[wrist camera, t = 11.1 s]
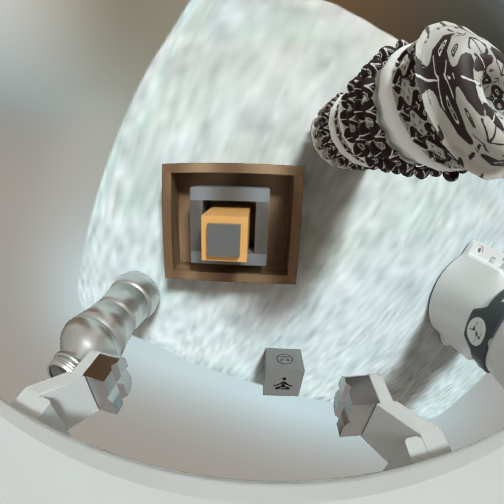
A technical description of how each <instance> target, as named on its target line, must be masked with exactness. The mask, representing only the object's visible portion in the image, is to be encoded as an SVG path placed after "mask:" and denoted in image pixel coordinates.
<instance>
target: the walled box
mask: <svg viewBox="0 0 504 504" xmlns="http://www.w3.org/2000/svg"><path fill="white" fill-rule="evenodd" d="M303 181H304V167H302V166H287V165H270V164H244V163H175V164H162V218H163V244H164V262H165V277H166V278H173V279H189V280H207V281H226V282H247V283H272V284H296V274H297V264H298V252H299V240H300V227H301V214H302V198H303ZM216 203H230V204H251V217H250V239H249V247H248V255H247V262H230V261H209V260H202V248H201V215H203V214H204V213H205V212H206V211H208V210H209V209H210V208H211V207H212V206H214V205H215V204H216Z"/></svg>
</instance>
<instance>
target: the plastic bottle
mask: <svg viewBox="0 0 504 504" xmlns="http://www.w3.org/2000/svg"><path fill="white" fill-rule="evenodd" d="M158 302H159V290H158V287H157V285H156V284H155V282H154V281H153V280H152V279H151V278H150V277H149V276H147V275H146V274H144V273H141V272H138V271H130V272H127V273H125V274H122V275H120V276H119V277H118V278H117V279H116V280H115V281H114V283H113V284H112V285H111V287H110V289H109V290H108V291H107V293H106V294H105V295H104V296H103V297H102V298H101V299H100V300H99V301H98V302H97V303H95V304H94V305H93V306H91V307H90V308H89V309H87V310H85V311H84V312H82V313H80V314H78V315H77V316H75V317H73V318H72V319H71V320H69V321H68V322H67V323H66V324H65V326H64V328H63V330H62V332H61V337H60V349H61V351H59V352H57V353H56V355H55V356H54V358H53V360H52V361H51V362H50V363H49V365H48V367H47V372H48V375H49V376H50V378H53V377H55V376H58V375H60V374H63V373H66V372H68V371H70V372H72V371H73V370H74V369H75V368H76V367H77V365H78V364H79V363H80V362H81V361H82V360H83V358H84V357H85V356H86V355H87V354H88V353H89V351H91V350H95V351H99V352H103V353H107V354H111V355H115V356H119V357H121V355H122V353H123V351H124V348H125V346H126V344H127V342H128V340H129V339H130V337H131V335H132V334H133V332H134V330H135V329H136V328H137V327H138V326H139V325H140V324H141V323H142V322H143V321H144V320H146V319H147V318H148V317H150V316H151V315H152V314H153V313H154V312H155V310H156V308H157V305H158Z"/></svg>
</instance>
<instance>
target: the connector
mask: <svg viewBox="0 0 504 504" xmlns="http://www.w3.org/2000/svg"><path fill="white" fill-rule="evenodd" d="M250 217H251V204H230V203H216V204H215V205H214V206H212V207H211V208H210V209H209V210H208V211H206V212H205V213H204V214H203V215H201V248H202V260H209V261H230V262H247V255H248V247H249V239H250Z"/></svg>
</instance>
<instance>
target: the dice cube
mask: <svg viewBox="0 0 504 504" xmlns="http://www.w3.org/2000/svg"><path fill="white" fill-rule="evenodd" d="M304 371H305V370H304V365H303V360H302V355H301V351H300V349H278V348H266V353H265V360H264V368H263V395H276V396H298V395H299V391H300V387H301V383H302V379H303V375H304Z"/></svg>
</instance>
